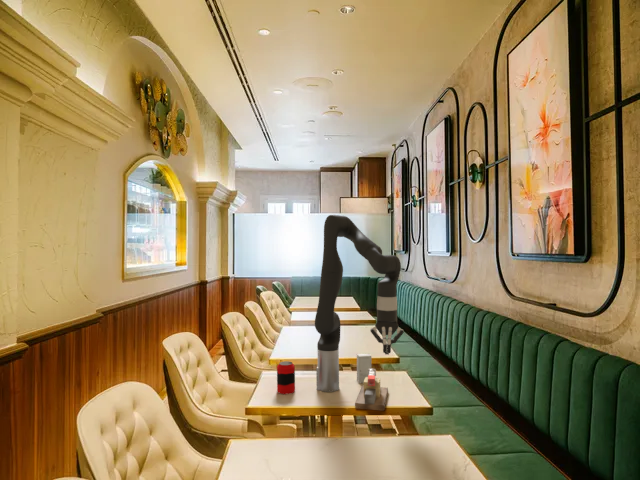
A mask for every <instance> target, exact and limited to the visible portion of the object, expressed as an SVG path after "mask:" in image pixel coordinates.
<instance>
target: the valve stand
mask: <svg viewBox="0 0 640 480" xmlns="http://www.w3.org/2000/svg"><path fill="white" fill-rule="evenodd" d="M388 394H389V388H388V387H386V386H385V387H383V386H382V387H381V378H380V377H375V386H368V377H365V380H364V383H363V385H361V387H360V389H359V391H358V395H357V396H356V397H357V398H356V399H355V402H354V408H355V409H360V410H361V409H362V410H373V411H385V408H386V407H385V406H386V404H385V403H387V400H388V399H387V398H388Z"/></svg>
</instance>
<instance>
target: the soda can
mask: <svg viewBox="0 0 640 480" xmlns="http://www.w3.org/2000/svg"><path fill="white" fill-rule="evenodd" d="M295 370H296V368H295V365H294V363H293V361H281V362H279V363H278V365H277V366H276V381H277V382H276V385H277V386H276V388H277V389H276V392H277V393H279V394H281V395H291V394H293V393H294V392H295V391H296V371H295Z"/></svg>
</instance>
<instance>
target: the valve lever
mask: <svg viewBox="0 0 640 480" xmlns="http://www.w3.org/2000/svg"><path fill="white" fill-rule="evenodd" d="M376 376H377V369H376V368H373V367H371V368H370V369H368V386H375V378H376Z"/></svg>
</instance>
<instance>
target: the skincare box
mask: <svg viewBox="0 0 640 480" xmlns="http://www.w3.org/2000/svg"><path fill="white" fill-rule="evenodd" d="M370 368H372V355H371V354H370V353H357V354H356V381H357V383H358V384H364V380H365V377H368V369H370Z"/></svg>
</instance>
